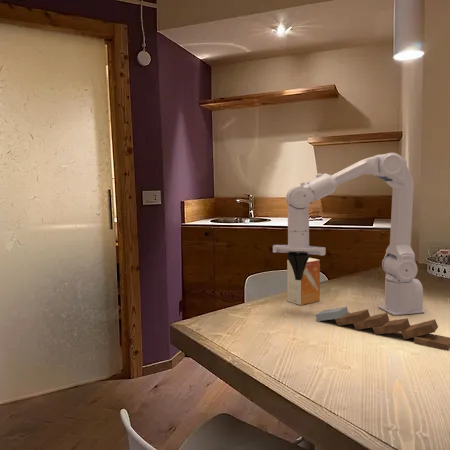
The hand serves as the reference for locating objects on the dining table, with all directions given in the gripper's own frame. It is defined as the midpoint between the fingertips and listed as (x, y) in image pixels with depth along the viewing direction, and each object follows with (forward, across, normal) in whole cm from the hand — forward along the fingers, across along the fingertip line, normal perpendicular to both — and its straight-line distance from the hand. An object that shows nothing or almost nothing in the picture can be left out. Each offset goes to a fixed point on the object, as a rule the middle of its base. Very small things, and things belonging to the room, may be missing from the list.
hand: (298, 279), depth 120 cm
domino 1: (+9, -12, +3) cm, 16 cm away
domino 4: (+9, -28, +6) cm, 30 cm away
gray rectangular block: (+9, -6, +2) cm, 11 cm away
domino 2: (+9, -17, +4) cm, 20 cm away
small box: (+10, +3, -13) cm, 16 cm away
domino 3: (+9, -22, +5) cm, 24 cm away
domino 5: (+10, -31, +8) cm, 33 cm away
